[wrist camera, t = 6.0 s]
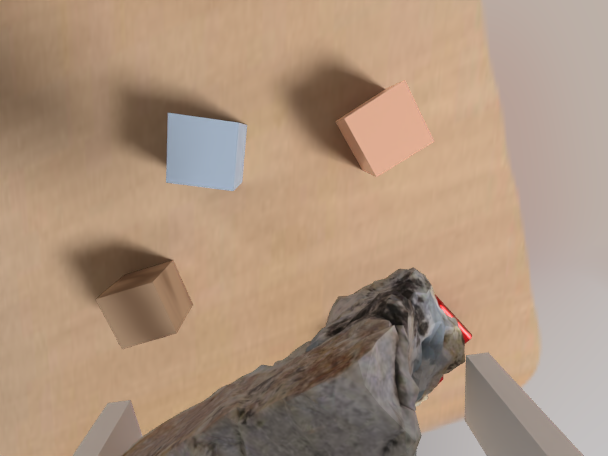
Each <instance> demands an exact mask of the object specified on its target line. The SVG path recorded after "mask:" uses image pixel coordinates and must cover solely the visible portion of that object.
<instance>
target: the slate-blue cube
mask: <svg viewBox="0 0 608 456" xmlns="http://www.w3.org/2000/svg"><path fill="white" fill-rule="evenodd" d="M246 132H247V125H246V124H242V123H237V122H230V121H223V120H216V119H209V118H202V117H195V116H188V115H181V114H174V113H168V132H167V171H166V183H174V184H182V185H190V186H198V187H206V188H214V189H222V190H230V191H234V190H235V189H236V188H237V187H238V186H239V185H240V184H241V183H242V178H243V167H244V155H245V143H246Z"/></svg>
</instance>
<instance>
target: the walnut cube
mask: <svg viewBox="0 0 608 456" xmlns="http://www.w3.org/2000/svg"><path fill="white" fill-rule="evenodd" d="M95 300H96V302H97V304H98V305H99V307H100V309H101V311H102V313H103V315H104V317H105V318H106V320H107V322H108V324H109V326H110V328H111V330H112V331H113V333H114V335H115V337H116V339H117V341H118V343H119V344H120V346H121V348H122V349H125V348H128V347H132V346H135V345H138V344H142V343H145V342H149V341H152V340H155V339H159V338H162V337H166V336H169V335H172V334H176V333H177V332H178V330H179V328H180V327H181V325H182V323H183V321H184V320H185V318H186V316H187V314H188V313H189V311H190V309H191V307H192V305H193V304H192V301H191V299H190V297H189V295H188V292H187V290H186V288H185V286H184V283H183V281H182V279H181V277H180V274H179V272H178V270H177V268H176V265H175V263H174V261H173V260H172V261H169V262H165V263H162V264H159V265H155V266H152V267H149V268H145V269H142V270H139V271H135V272H132V273H129V274H126V275H124V276H122V277H121V278H120V279H119V280H118V281H117V282H115V283H114V284H113V285H112V286H111V287H109V288H108V289H107V290H106V291H105V292H104V293H102V294H101V295H100V296H99V297H98V298H96V299H95Z"/></svg>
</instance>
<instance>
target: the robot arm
mask: <svg viewBox="0 0 608 456" xmlns="http://www.w3.org/2000/svg"><path fill="white" fill-rule="evenodd" d="M465 421H466V422H467V424H468V426H469V427H470V429H471V431H472V432H473V434H474V436H475V437H476V439H477V440H478V442H479V444H480V445H481V447H482V449H483V450H484V451H485V453H486V455H487V456H583V454H582V453H581V452H580V451H579V450H578V449H577V448H576V447H575V446H574V445H573V444H572V443H571V441H570V440H569V439H568V438H567V437H566V436H565V435H564V434H563V433H562V432H561V431H560V430H559V428H558V427H557V426H556V425H555V424H554V423H553V422H552V421H551V420H550V419H549V418H548V417H547V415H546V414H545V413H544V412H543V411H542V410H541V409H540V408H539V407H538V406H537V405H536V404H535V403H534V401H533V400H532V399H531V398H530V397H529V396H528V395H527V394H526V393H525V392H524V391H523V389H522V388H521V387H520V386H519V385H518V384H517V383H516V382H515V381H514V380H513V379H512V378H511V376H510V375H509V374H508V373H507V372H506V371H505V370H504V369H503V368H502V367H501V366H500V365H499V364H498V362H497V361H496V360H495V359H494V358H493V357H492V356H491V355H490V354H489V353H480V354H473V355H466V382H465ZM140 438H142V434H141V430H140V427H139V424H138V421H137V418H136V415H135V412H134V409H133V406H132V403H131V400H128V401H120V402H113V403H108V404H107V405H106V407H105V408H104V410H103V411H102V413H101V414H100V415H99V417H98V418H97V420H96V421H95V423H94V424H93V426H92V427H91V429H90V430H89V432H88V433H87V435H86V436H85V438H84V439H83V441H82V442H81V444H80V445H79V447H78V448H77V450H76V451H75V453H74V454H73V456H121V455H122V454H123V453H124V452H125V451H127V450H128V449H129V448H130V447H131V446H132V445H133V444H134V443H135V442H137V441H138V440H139V439H140Z"/></svg>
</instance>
